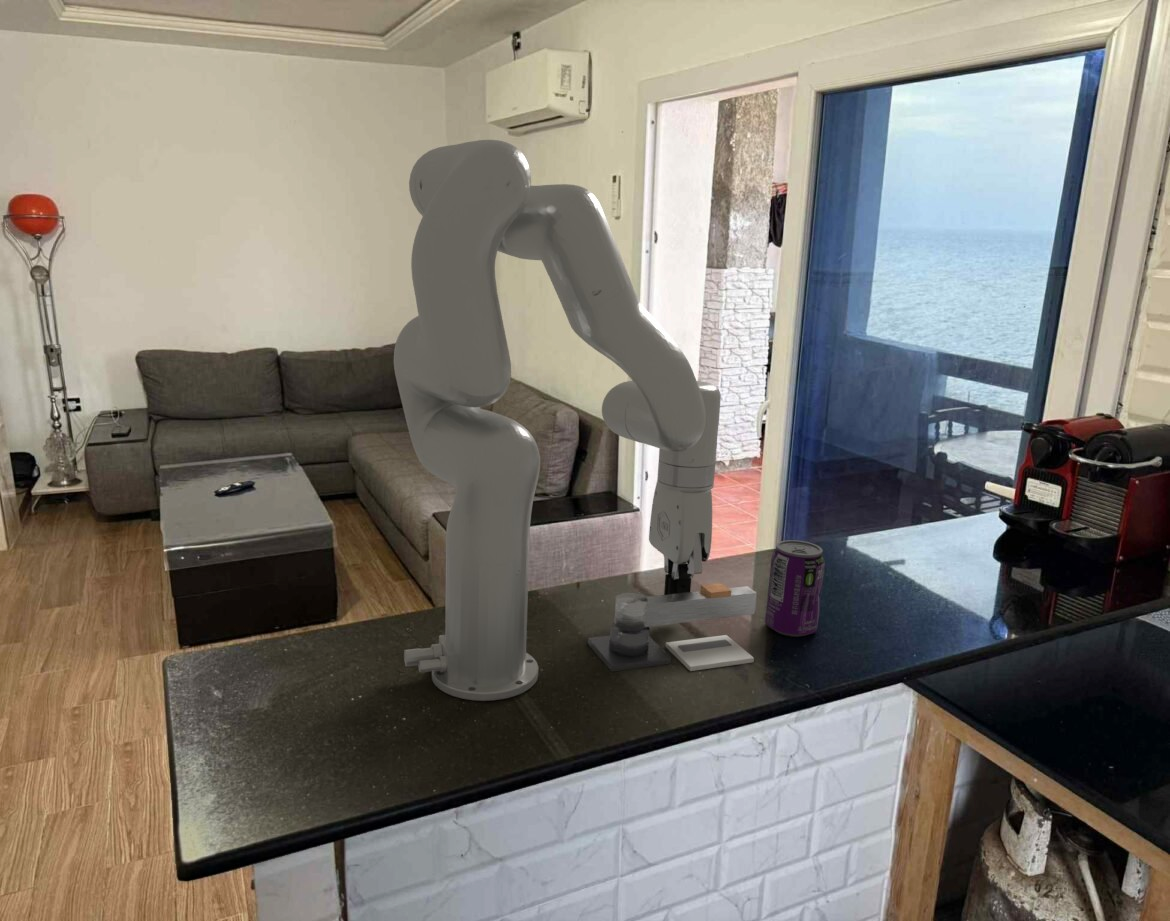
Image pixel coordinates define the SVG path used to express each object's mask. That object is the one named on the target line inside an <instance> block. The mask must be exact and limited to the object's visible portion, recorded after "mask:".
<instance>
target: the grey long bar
mask: <svg viewBox="0 0 1170 921" xmlns="http://www.w3.org/2000/svg"><path fill="white" fill-rule="evenodd" d="M757 595H758V592H757V591H755V590H754V589H752V588H750V587H749V586H747V585H746V586H736V587H727V586H726V585H725V584H724V583H722V582H716V583H706V584H700V590H699V591H690V592H688V593H678V594H669V595H664V594H661V595H652V596H651V595H650V596H645V595H643V594H641V593H637V592H622V593H619V594H617V595H616V596H615V608H614V610H615V611H614V622H613V623H614V624H615V626H616V627H617V628H619V629H622V630H625V631H639V630H642V629H644V628H645V627H649V628H650V627H654V626H655V627H656V626H665V625H673V624H683V623H690V622H699V621H707V620H716V619H725V618H732V617H741V616H751V615H755V614H756V606H757Z"/></svg>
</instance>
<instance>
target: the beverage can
mask: <svg viewBox="0 0 1170 921" xmlns="http://www.w3.org/2000/svg"><path fill="white" fill-rule="evenodd" d="M823 550H824V549H823V548H822V547H821V546H819V545H818V544H816V543H812V542H809V541H803V540H796V539H794V540H792V539H788V540H787V539H786V540H781V541H778V542H777V543H776V546H775V550H774V552H773V554H772V555H771V560H770V568H769V569H770V570H769V579H768V588H767V589H768V590H767V599H766V600H767V601H766V607H765V608H766V609H765V619H764V623H765V624H766V625H767V627H769V628H770V629H772V630H774V631H775V632H776V633H778V634H780V635H784V636H787V637H794V638H795V637H797V638H799V637H803V636H804V637H805V636H807V635H810V634H811V635H812V634H814V633H816V632H817V630H818V624H819V616H820V609H821V608H820V607H821V599H822V592H823V591H822V590H823V582H824V581H823V580H824V573H825V565H826V564H825V560H824V558H823V552H824V551H823Z"/></svg>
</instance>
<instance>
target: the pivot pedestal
mask: <svg viewBox="0 0 1170 921" xmlns="http://www.w3.org/2000/svg"><path fill="white" fill-rule="evenodd" d="M587 644H588V645H589V647H590V648H591V649H592V651H594V653H595V654H596V655H597V656H598V657H599V659H601V661H602V663H603V664H604V665H605V666H606V667H607V669H608V670H609V671H610V672H611V673H612V672H618V671H625V670H632V669H634V670H635V669H639V668H649V667H654V666H655V667H657V666H663V665H669V664H671V656H670V655H669V654H668V653H667V652H666V651H665V650H663V648H662V647H661V646H660V645H659V644H658V643H657V642H656V641H654V639H652V637H651V636H650V626H649V627H645V628H644V629H642V630H639V631H625V630H622V629H619V628H617V627H616V626H615V624H614V622H612V623H611V624H610V628H609V635H603V636H594V637H593V636H592V637H588V639H587Z"/></svg>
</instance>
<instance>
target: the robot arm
mask: <svg viewBox="0 0 1170 921" xmlns="http://www.w3.org/2000/svg"><path fill="white" fill-rule="evenodd" d="M408 186H409V188H408V189H409V195H410V199H411V201H412V203H413V205H414V207H415V209H416V210H417V212H418V213H419V215H421V216H422V218H421V219H420V222H419V224H418V227H417V230H416V233H415V236H414V240H413V243H412V244H413V245H412V250H411V260H410V261H411V262H410V263H411V269H410V270H411V279H412V286H413V292H414V296H415V302H416V303H415V304H416V308H417V314H418V316H415V317H413V318H412V319H410V320H409V321H408V322H407V323H406V324H405V325H404V327H403V328H402V329H401V331H400V333H399V334H398V337H397V339H396V342H395V345H394V352H393V369H394V375H395V379H396V384H397V388H398V392H399V397H400V401H401V404H402V410H403V413H404V416H405V421H406V425H407V429H408V433H409V436H410V440H411V441H410V442H411V444H412V446H413V450H414V452H415V454H416V457H417V459H418V461H419V463H420V464H421V465H422V466H423V468H424V469H425V470H426V471H428V473H430V474H432V475H433V476H435V477H436V478H437V479H440V480H441V481H444V482H446V483H448V484H449V485H451V486H452V487H454V488H455V493H454V494H455V495H454V499H453V502H452V506H451V509H450V511H449V514H448V519H447V523H446V530H445V531H446V532H445V533H446V534H445V609H444V610H445V611H444V612H445V615H444V616H445V617H444V618H445V623H444V624H445V625H444V626H445V632H444V633H445V634H440V635H439V636H438V643H433V644H431V645H430V647H426V648H420V647H418V648H412V649H411V648H409V649H404V650H403V651H404V652H403V660H404V666H405V667H413V666H417V667H418V672H419V674H424V673H429V672H431V681H432V682H433V684H434V685H435V687H437V689H439V690H440V691H442V692H444V693H445V694H448V695H449V696H452V697H455V698H458V699H464V700H468V701H469V700H470V701H481V702H487V701H498V700H505V699H509V698H512V697H515V696H518V695H521V694H523V693H525V692H526V691H529V689H530V688H532V687H533V686H534V685H535V684H536V682H537V681H538V678H539V665H538V664H539V663H538V662H537V660H536V659H535V658H534V657H533V656H532V655H531V654H529V653H528V652H527V626H528V600H529V599H528V597H529V596H528V595H529V570H530V569H529V567H530V563H529V562H530V538H531V536H530V534H531V533H530V532H531V521H532V511H533V503H534V499H535V495H536V494H535V493H536V489H537V485H538V482H539V476H540V471H541V455H540V450H539V447H538V444H537V442H536V439H535V437H534V436H533V435H532V434H531V432H530V431H529V430H528V429H527V428H526V427H525V426H524V425H522V424H521V423H519V422H517V421H516V420H515V419H512V418H511V417H507V416H505V415H503V414H500V413H496V412H494V411H491V410H489V409H488V410H487V409H484V408H482V407H487V406H490V405H492V404H495V403H496V402H497V401H498V400H500V399H501V398H502V397H503V396H504V395H505V393H506V392H507V390H508V388H509V385H510V382H511V378H512V363H511V357H510V356H511V355H510V350H509V347H508V346H509V345H508V341H507V335H506V331H505V326H504V321H503V320H504V319H503V315H502V310H501V305H500V301H499V296H498V288H497V286H498V285H497V280H496V259H497V255H498V254H497V253H498V252H499V253H502V254H504V255H505V254H506V255H508V256H511V257H515V258H518V259H521V260H530V261H541V262H542V264H543V267H544V269H545V271H546V273H547V276H549V279H550V282H551V284H552V286H553V289H554V291H555V293H556V295H557V298H558V300H559V301H560V304H561V307H562V309H563V311H564V314H565V315H566V318H567V320H568V323H569V326H570V327H571V329H572V330H573V332H574V333H575V334H576V335H577V336H578V338H580V339H581V340H582V341H584V343H586V344H587V345H588V346H590V347H591V348H592V349H594V350H595V351H597V352H598V353H599V354H601V355H603V356H604V357H605V358H607V359H608V360H611V361H612V363H614V364H615V365H616V366H618V367H619V368H620V369H621V370H622V371H623V372H624V373H625V374H626V376H628V377H629V378H630V379H631V380H627V381H623V382H620V383H618V384H616V385H614V387H612V388H611V389H610V390H609V391H608V392H607V393H606V395H605V397H604V399H603V401H602V405H601V416H602V420H603V421H604V424H605V425H606V426H607V428H608V429H610V431H611V432H613V433H614V434H616V435H618V436H620V437H622V438H624V439H628V440H631V441H635V442H637V443H639V444H640V443H641V444H645V445H647V446H651V447H654V448H657V449H659V450H658V466H657V480H656V484H655V488H654V493H653V498H652V506H651V510H650V511H651V513H650V521H649V531H648V533H649V534H648V542H649V543H650V544H651V546H652V547H653V548H655V549H656V551H658V552H659V553H660V554H662V555H663V562H664V563H663V567H664V568H663V569H664V570H663V571H664V574H665V575H664V576H665V577H664V588H663V590H664V591H663V592H664V593H663V595H669V594H678V593H688V592H691V589H692V579H693V578H694V577H695V576H694V575H700V574H701V575H702V573H703V563H705V562H707V561H708V560H709V558H710V555H711V549H712V538H713V537H712V536H713V494H712V489H714V486H715V484H714V483H715V471H716V460H717V448H718V447H717V446H718V433H719V422H720V412H721V411H720V410H721V391H720V389H719V387H718V386H716V385H715V384H712V383H711V382H707V381H700V380H697V379H696V376H695V373H694V371H693V368H692V366H691V364H690V362H689V360H688V358H687V356H686V355H685V354H684V352H683V350H682V349H681V348H680V347H679V345H678V344H677V343H676V342H675V341H674V340H675V339H673V338H672V337H671V336H670V334H668V332H667V331H666V330H665V329H664V328H663V327H662V325H661V324H660V323H659V322H658V320H657V319H656V318H655V317H654V316H653V315H652V314H651V313H650V312H649V311H648V310H647V308H645V307H644V306H643V304H642V303H641V301H640V299H639V298H638V296H637V293H636V291H635V289H634V286H633V283H632V281H631V278H630V276H629V272H628V271H627V268H626V266H625V263H624V260H623V258H622V255H621V253H620V250H619V247H618V245H617V242H616V239H615V237H614V233H613V232H612V230H611V226H610V224H609V222H608V219H607V217H606V214H605V212H604V210H603V207H602V205H601V202H600V201H599V200H598V198H597V196H595V194H594V193H593V192H591V190H588V189H587V188H585V187H583V186H580V185H575V184H565V183H564V184H563V183H561V184H555V183H554V184H542V185H532V173H531V169H530V165H529V163H528V160H527V158H526V156H525V155H524V154H523V152H522V151H521V149H519V148H518V147H517V146H515V145H513V144H511V143H508V142H506V141H503V140H499V139H498V140H497V139H479V140H473V141H466V142H462V143H455V144H450V145H444V146H440V147H435V148H433V149H431V150H428V151H427V152H425V153H424V154H422V155H421V156H420V157H419V158H418V159H417V160H416V162H415V163H414V164H413V166H412V169H411V171H410V175H409V181H408Z"/></svg>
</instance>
